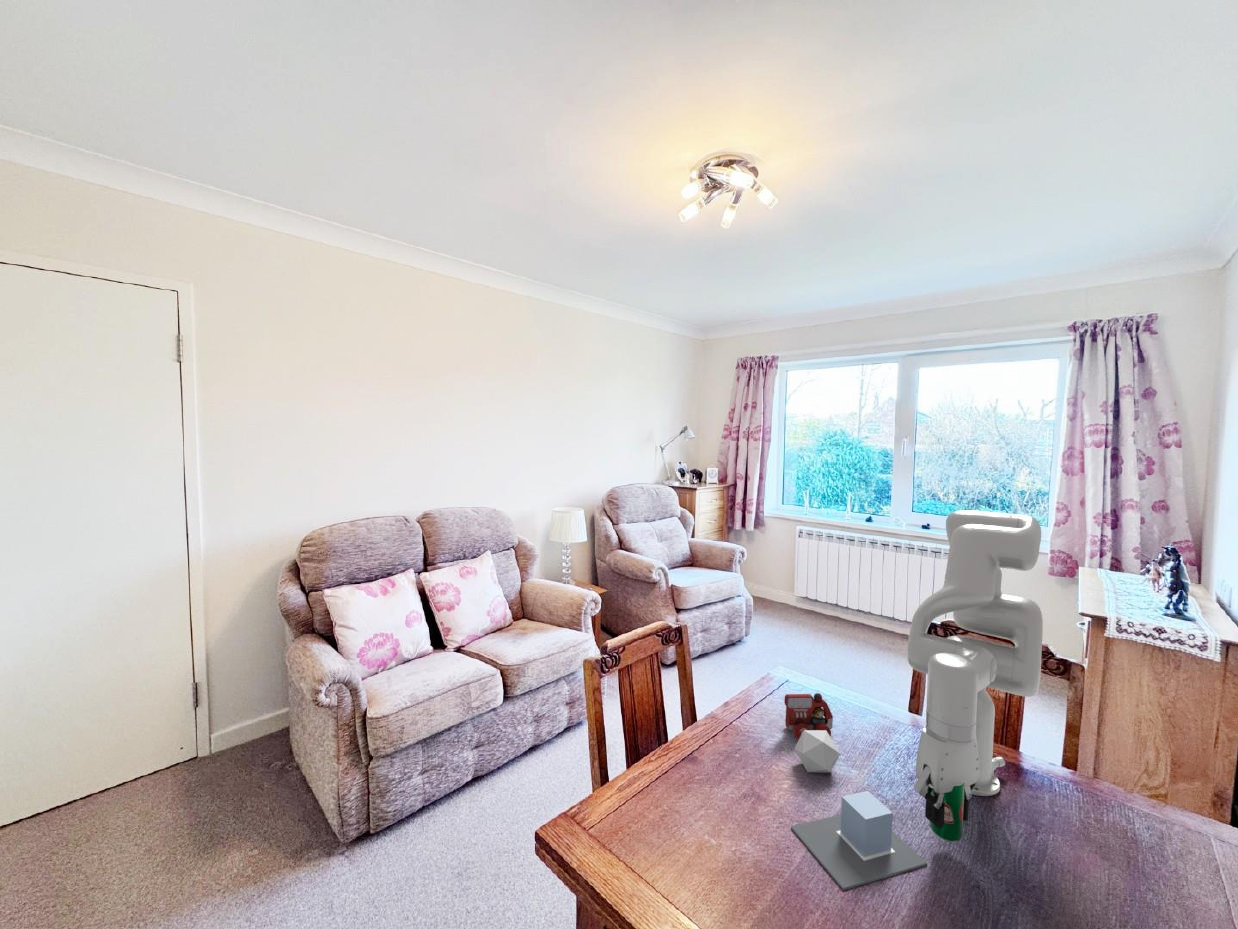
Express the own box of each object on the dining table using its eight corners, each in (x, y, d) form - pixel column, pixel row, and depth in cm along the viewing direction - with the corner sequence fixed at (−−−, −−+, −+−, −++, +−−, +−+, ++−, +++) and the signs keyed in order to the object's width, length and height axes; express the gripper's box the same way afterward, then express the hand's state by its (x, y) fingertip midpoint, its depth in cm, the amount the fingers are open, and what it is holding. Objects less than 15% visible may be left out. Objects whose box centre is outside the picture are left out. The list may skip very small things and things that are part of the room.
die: (833, 790, 110) (852, 746, 113) (796, 765, 111) (815, 722, 114) (818, 779, 118) (836, 738, 121) (783, 756, 119) (802, 716, 122)
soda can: (923, 827, 94) (925, 766, 93) (941, 818, 96) (943, 758, 95) (950, 848, 90) (953, 784, 89) (968, 838, 92) (971, 776, 91)
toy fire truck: (838, 742, 127) (839, 701, 126) (789, 743, 126) (791, 702, 125) (825, 726, 134) (826, 687, 133) (779, 727, 133) (780, 688, 132)
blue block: (866, 826, 98) (867, 790, 98) (891, 850, 92) (892, 812, 92) (840, 832, 96) (841, 796, 96) (864, 857, 91) (865, 819, 90)
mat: (866, 809, 103) (866, 807, 103) (927, 865, 90) (927, 862, 90) (791, 828, 98) (791, 826, 98) (843, 890, 84) (843, 887, 84)
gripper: (966, 705, 97) (962, 794, 99) (895, 722, 92) (892, 815, 94) (1006, 727, 90) (1001, 823, 92) (932, 747, 85) (928, 847, 87)
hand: (946, 818), depth 93 cm, fingers closed on soda can, 5 cm apart
